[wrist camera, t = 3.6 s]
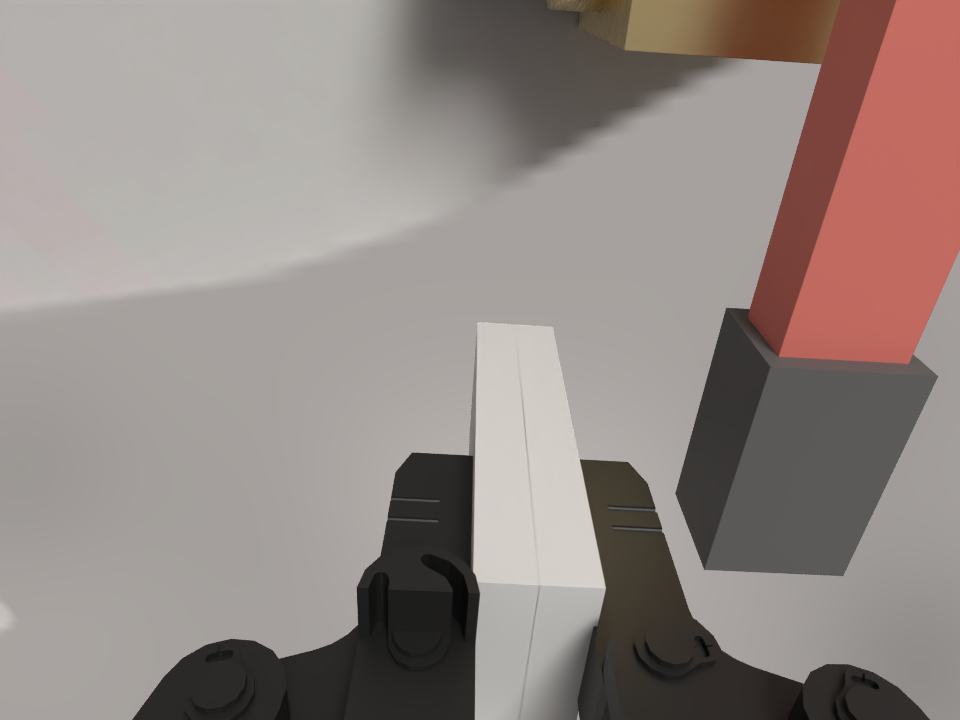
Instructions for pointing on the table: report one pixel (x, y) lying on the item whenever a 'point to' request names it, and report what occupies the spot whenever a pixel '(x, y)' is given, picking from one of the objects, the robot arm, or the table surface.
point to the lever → (836, 305)
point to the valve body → (712, 26)
